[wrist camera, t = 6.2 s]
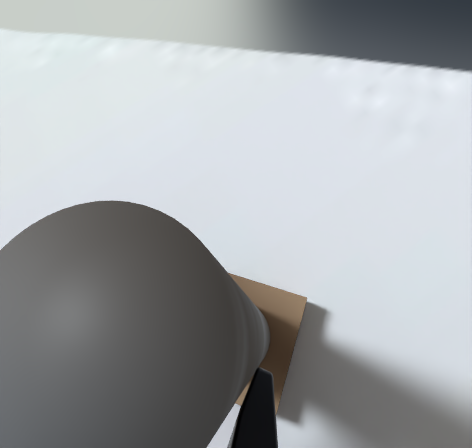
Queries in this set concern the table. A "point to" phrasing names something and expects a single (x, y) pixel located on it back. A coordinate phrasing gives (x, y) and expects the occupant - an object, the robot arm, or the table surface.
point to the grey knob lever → (129, 332)
